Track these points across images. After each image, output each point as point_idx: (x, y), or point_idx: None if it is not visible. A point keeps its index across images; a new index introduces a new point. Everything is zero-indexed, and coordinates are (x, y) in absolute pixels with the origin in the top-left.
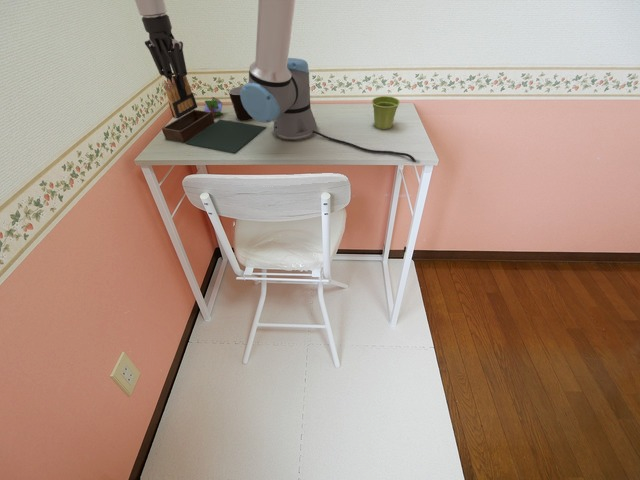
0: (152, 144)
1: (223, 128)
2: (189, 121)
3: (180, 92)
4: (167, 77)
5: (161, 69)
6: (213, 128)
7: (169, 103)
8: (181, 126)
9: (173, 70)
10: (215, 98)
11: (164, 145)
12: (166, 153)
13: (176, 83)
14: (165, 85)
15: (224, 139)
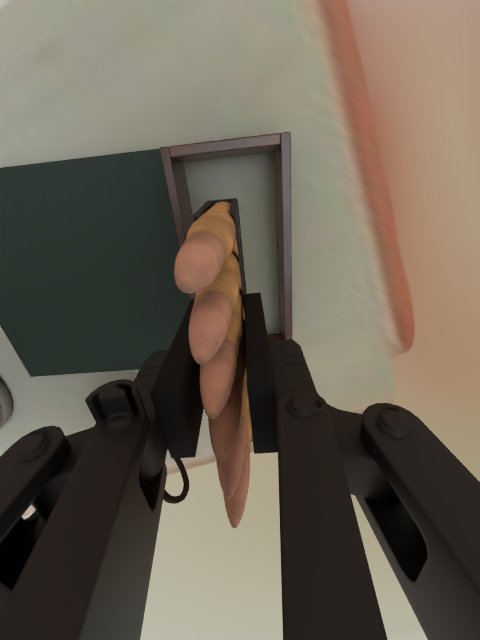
0: (308, 56)
1: (134, 318)
2: (280, 303)
3: (183, 325)
4: (283, 396)
5: (395, 488)
6: (166, 305)
7: (230, 212)
8: (279, 255)
9: (107, 503)
10: (251, 440)
11: (241, 82)
12: (160, 4)
13: (171, 363)
14: (187, 247)
15: (52, 252)
